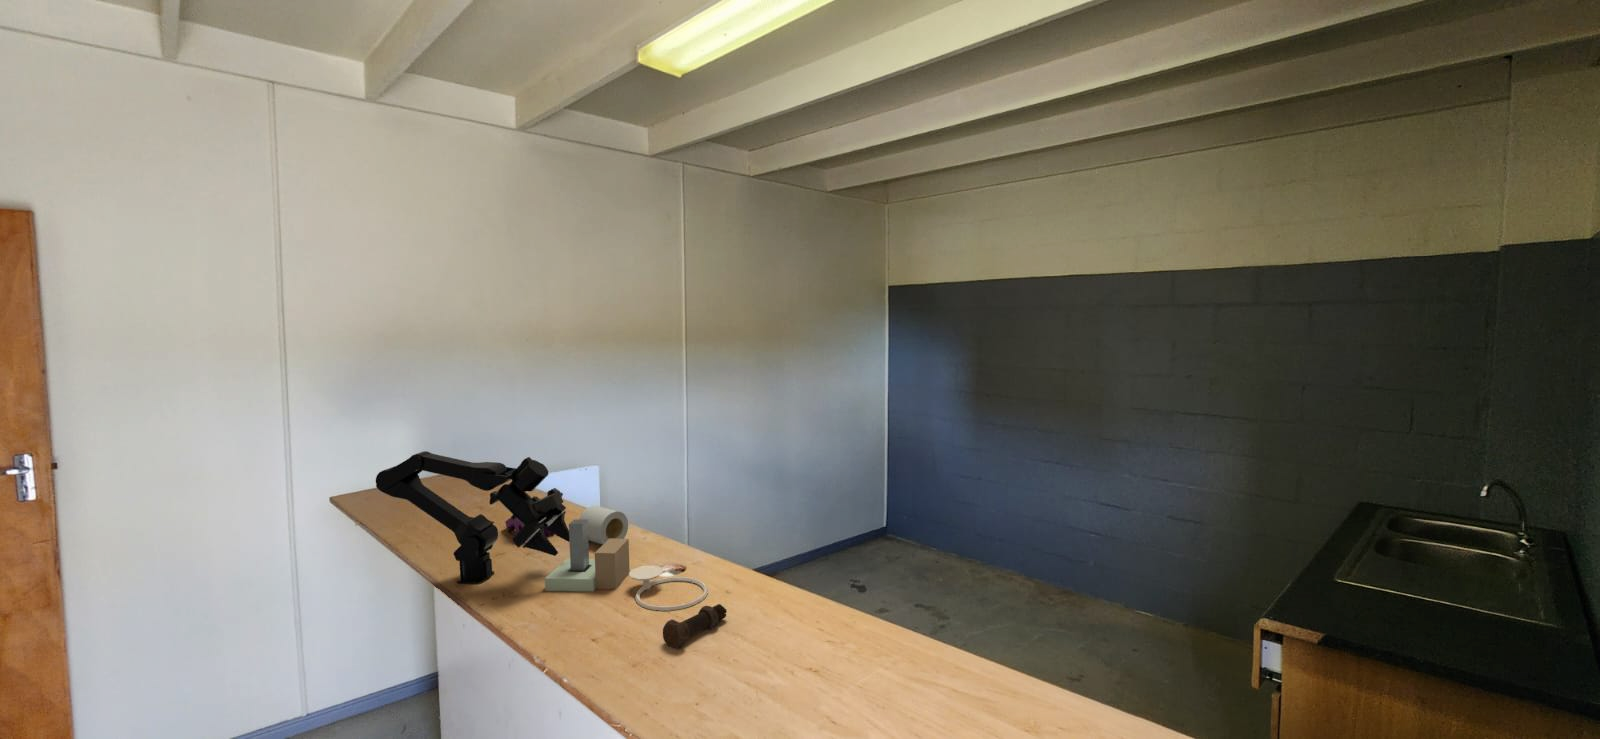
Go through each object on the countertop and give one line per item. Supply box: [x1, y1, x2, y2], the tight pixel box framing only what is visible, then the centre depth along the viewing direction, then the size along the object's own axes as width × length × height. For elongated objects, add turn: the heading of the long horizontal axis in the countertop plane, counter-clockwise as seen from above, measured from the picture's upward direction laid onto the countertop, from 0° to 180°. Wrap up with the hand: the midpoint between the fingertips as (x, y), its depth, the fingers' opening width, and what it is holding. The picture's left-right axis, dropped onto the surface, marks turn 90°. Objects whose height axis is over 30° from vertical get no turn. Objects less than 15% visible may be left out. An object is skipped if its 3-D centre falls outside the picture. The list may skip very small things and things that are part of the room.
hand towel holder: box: [628, 564, 709, 612], centre depth 154 cm, size 17×4×20 cm
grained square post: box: [568, 519, 590, 572], centre depth 162 cm, size 3×3×15 cm
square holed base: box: [544, 538, 631, 593], centre depth 162 cm, size 17×13×9 cm
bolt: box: [662, 603, 727, 650], centre depth 135 cm, size 6×5×15 cm
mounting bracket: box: [504, 517, 553, 536], centre depth 197 cm, size 10×8×18 cm
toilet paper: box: [578, 505, 629, 546], centre depth 188 cm, size 10×10×10 cm
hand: (564, 547), depth 162 cm, fingers open, 9 cm apart
